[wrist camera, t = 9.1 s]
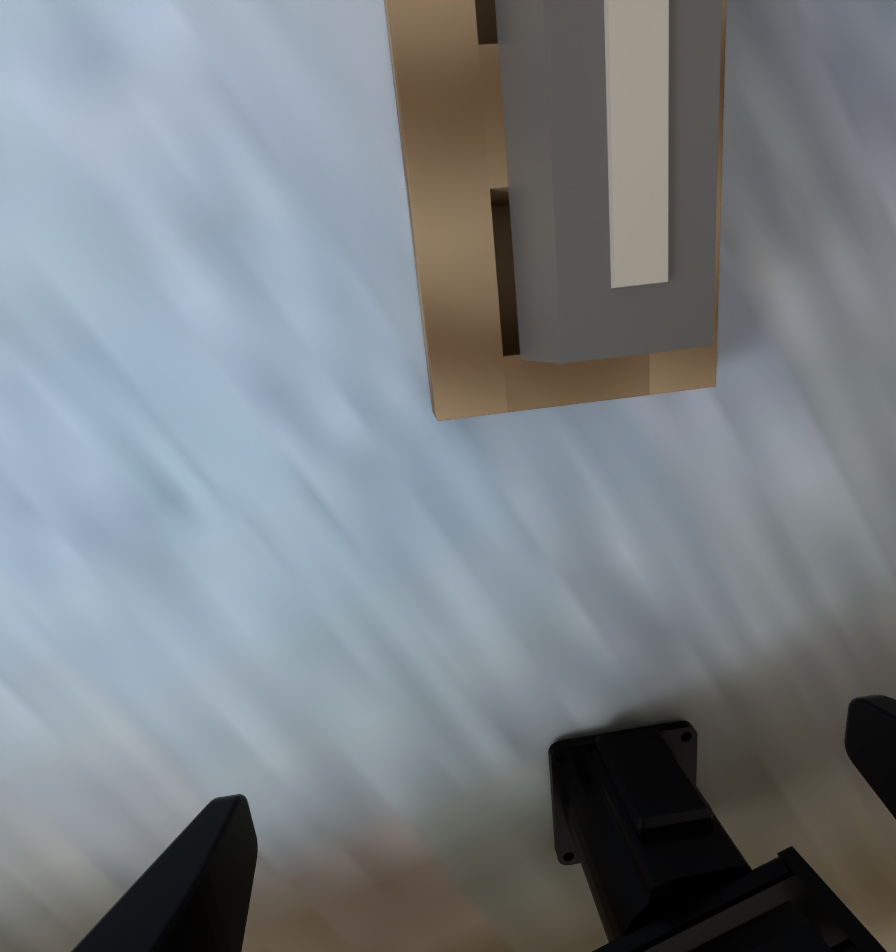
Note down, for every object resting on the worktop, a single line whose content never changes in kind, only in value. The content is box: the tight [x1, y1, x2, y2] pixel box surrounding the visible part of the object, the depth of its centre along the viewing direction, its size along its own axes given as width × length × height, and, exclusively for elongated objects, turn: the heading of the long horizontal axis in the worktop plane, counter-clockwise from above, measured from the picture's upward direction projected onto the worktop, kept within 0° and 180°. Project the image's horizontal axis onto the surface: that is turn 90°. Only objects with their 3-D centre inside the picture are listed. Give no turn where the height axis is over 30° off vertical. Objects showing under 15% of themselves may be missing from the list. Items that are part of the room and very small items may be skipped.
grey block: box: [495, 0, 722, 364], centre depth 13 cm, size 13×4×6 cm, turn 6°
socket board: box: [384, 0, 726, 421], centre depth 15 cm, size 16×9×2 cm, turn 6°
